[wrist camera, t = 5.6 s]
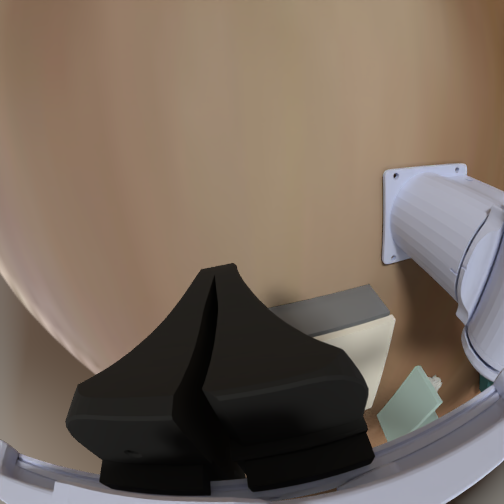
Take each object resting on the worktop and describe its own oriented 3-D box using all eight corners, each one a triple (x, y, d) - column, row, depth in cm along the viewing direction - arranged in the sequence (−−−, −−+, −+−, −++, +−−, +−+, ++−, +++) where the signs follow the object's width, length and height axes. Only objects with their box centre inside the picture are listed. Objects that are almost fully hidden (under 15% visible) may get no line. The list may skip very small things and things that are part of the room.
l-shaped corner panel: (424, 400, 39) (441, 430, 32) (375, 412, 37) (390, 448, 30) (461, 354, 34) (483, 386, 27) (413, 363, 32) (437, 403, 25)
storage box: (369, 284, 23) (389, 311, 20) (358, 377, 30) (369, 403, 26) (187, 323, 23) (184, 357, 20) (226, 407, 30) (228, 435, 26)
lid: (392, 314, 19) (395, 319, 19) (369, 403, 26) (371, 407, 26) (184, 361, 19) (183, 367, 19) (228, 436, 26) (228, 440, 25)
